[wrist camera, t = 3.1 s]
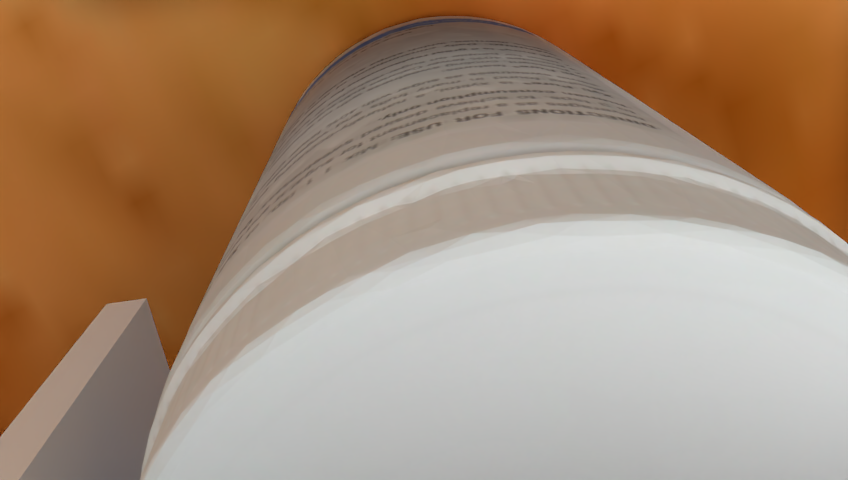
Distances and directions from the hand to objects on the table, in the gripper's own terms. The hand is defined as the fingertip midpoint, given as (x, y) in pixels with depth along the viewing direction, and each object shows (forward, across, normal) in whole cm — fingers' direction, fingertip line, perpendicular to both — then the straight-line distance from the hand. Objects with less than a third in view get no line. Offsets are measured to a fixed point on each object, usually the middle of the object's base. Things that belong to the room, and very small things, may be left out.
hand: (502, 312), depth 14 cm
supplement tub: (+8, 0, 0) cm, 8 cm away
